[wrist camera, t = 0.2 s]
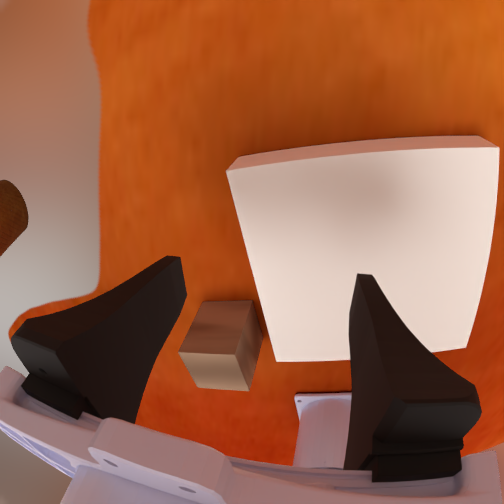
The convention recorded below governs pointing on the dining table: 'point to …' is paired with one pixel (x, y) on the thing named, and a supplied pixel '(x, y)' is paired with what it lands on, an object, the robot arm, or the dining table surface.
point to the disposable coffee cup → (11, 214)
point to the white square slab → (368, 236)
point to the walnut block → (223, 345)
